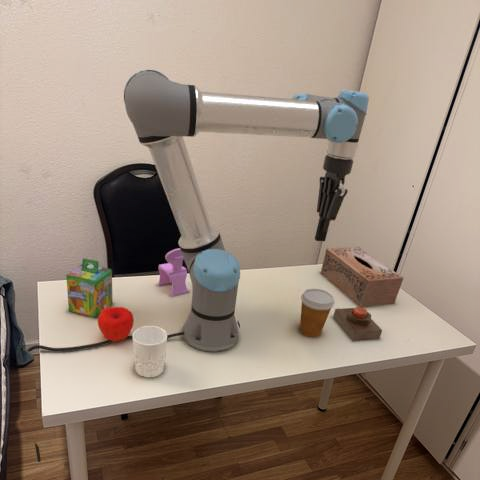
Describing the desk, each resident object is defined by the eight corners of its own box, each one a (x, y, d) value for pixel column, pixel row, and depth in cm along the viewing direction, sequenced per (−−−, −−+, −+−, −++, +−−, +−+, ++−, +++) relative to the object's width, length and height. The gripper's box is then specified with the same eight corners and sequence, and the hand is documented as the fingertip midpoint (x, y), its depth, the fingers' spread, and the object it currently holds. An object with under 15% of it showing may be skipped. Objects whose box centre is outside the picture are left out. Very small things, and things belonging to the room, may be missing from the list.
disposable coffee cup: (324, 325, 133) (333, 290, 127) (327, 342, 125) (336, 306, 119) (294, 320, 133) (301, 285, 127) (294, 337, 125) (302, 301, 119)
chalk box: (68, 311, 123) (63, 264, 115) (85, 297, 130) (81, 251, 123) (98, 319, 121) (95, 271, 114) (114, 303, 129) (112, 258, 121)
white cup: (171, 363, 109) (172, 330, 103) (157, 382, 102) (158, 348, 97) (142, 355, 110) (142, 322, 105) (127, 374, 103) (126, 339, 98)
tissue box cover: (394, 303, 151) (403, 277, 145) (360, 307, 145) (368, 280, 140) (352, 270, 170) (358, 246, 165) (320, 272, 165) (326, 248, 160)
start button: (356, 319, 129) (358, 314, 128) (350, 312, 132) (351, 307, 131) (368, 318, 130) (370, 313, 129) (361, 311, 134) (363, 306, 133)
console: (352, 341, 127) (357, 326, 125) (332, 317, 138) (336, 303, 135) (379, 339, 130) (384, 325, 127) (357, 315, 140) (361, 302, 138)
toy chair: (176, 279, 147) (178, 237, 139) (190, 291, 141) (193, 248, 133) (154, 285, 142) (155, 241, 134) (168, 297, 136) (170, 252, 128)
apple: (112, 352, 110) (110, 326, 106) (91, 336, 114) (89, 311, 110) (140, 339, 116) (140, 314, 112) (120, 325, 120) (119, 300, 116)
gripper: (364, 163, 111) (341, 249, 124) (341, 151, 122) (322, 232, 134) (338, 161, 109) (317, 249, 121) (317, 149, 120) (299, 231, 132)
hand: (319, 240), depth 128 cm, fingers closed
